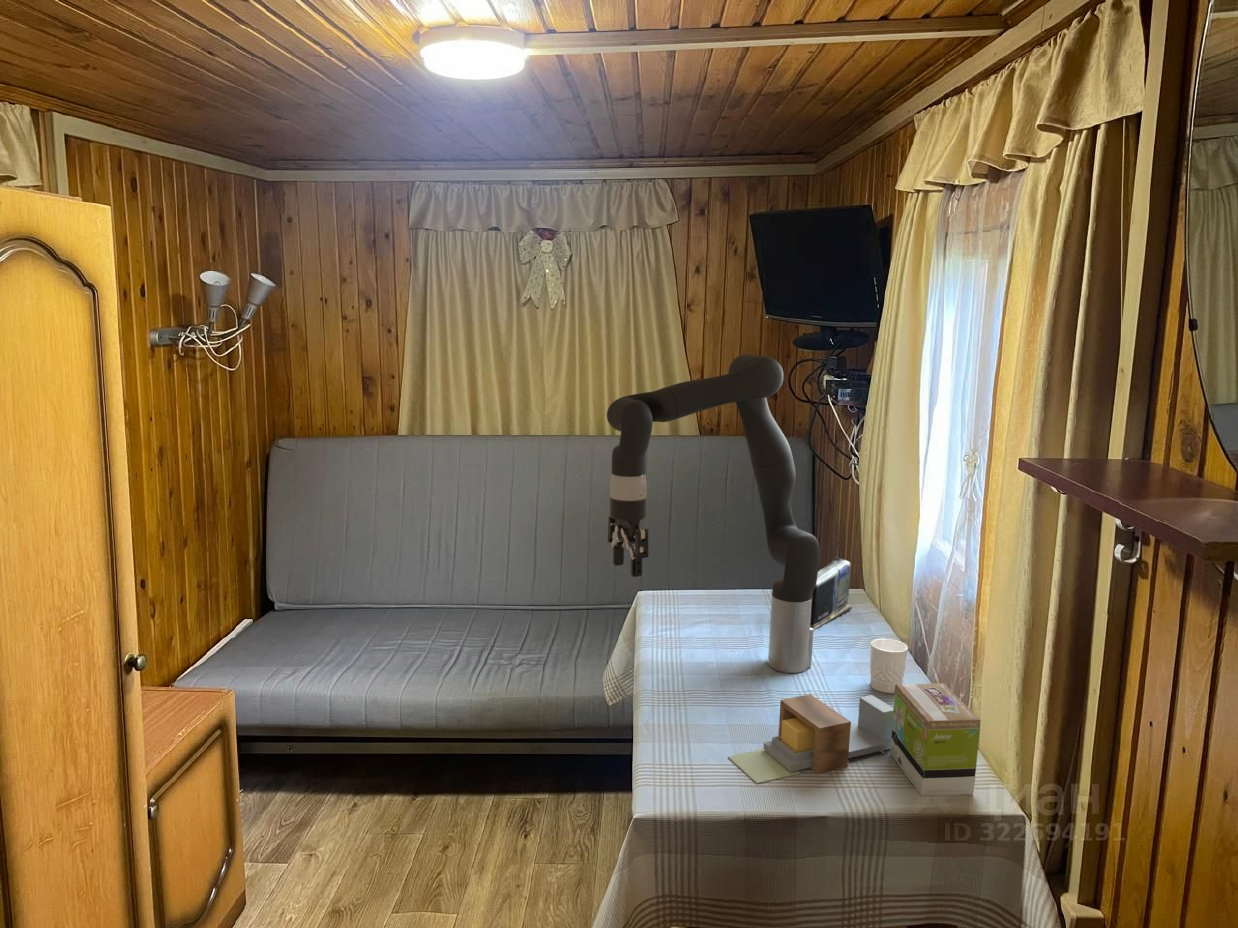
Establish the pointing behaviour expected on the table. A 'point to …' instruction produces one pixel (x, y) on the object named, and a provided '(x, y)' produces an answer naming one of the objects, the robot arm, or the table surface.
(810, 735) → the block
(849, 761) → the mat
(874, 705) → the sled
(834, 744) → the tunnel
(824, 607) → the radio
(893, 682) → the white cup
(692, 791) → the table surface
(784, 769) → the mat
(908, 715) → the tea box
